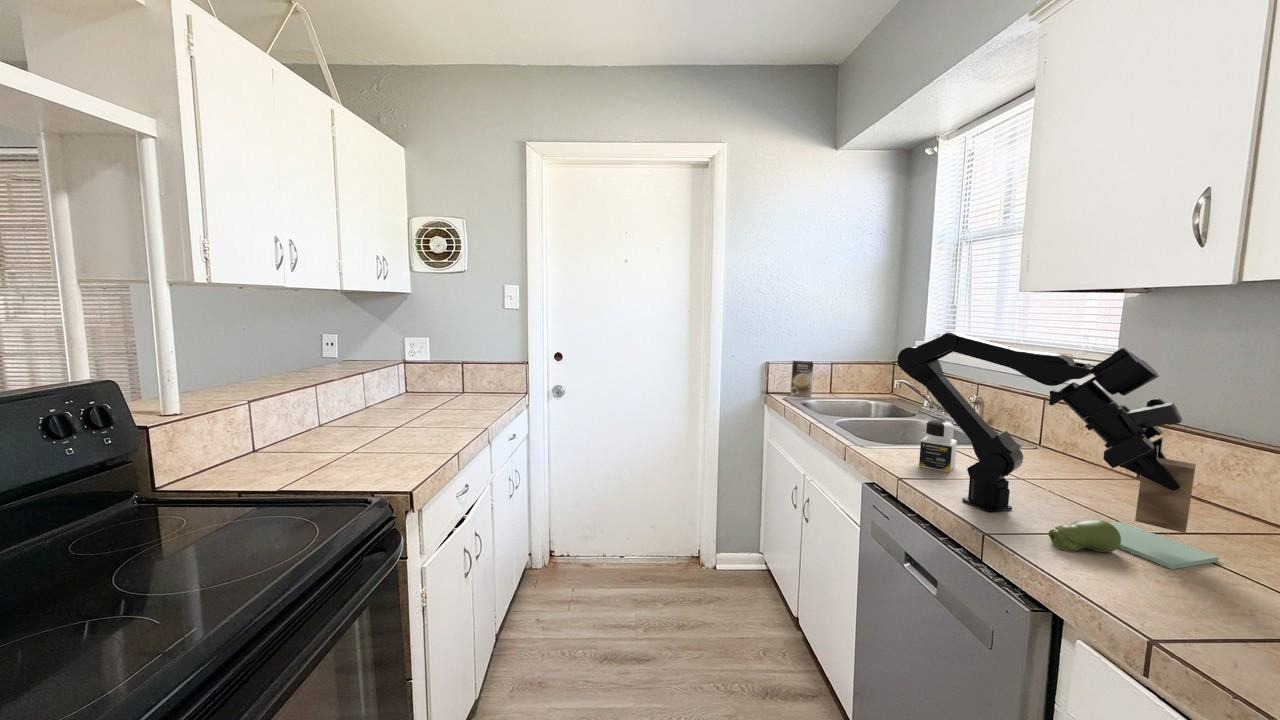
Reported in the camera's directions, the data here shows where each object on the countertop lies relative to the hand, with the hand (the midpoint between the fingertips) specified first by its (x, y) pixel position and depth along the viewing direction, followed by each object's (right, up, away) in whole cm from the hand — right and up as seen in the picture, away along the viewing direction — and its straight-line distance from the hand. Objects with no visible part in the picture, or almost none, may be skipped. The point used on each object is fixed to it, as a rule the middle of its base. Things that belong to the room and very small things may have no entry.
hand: (1177, 486), depth 85 cm
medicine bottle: (-13, -7, +48) cm, 50 cm away
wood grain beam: (-1, -7, +2) cm, 7 cm away
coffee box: (-16, +4, +149) cm, 150 cm away
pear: (-13, -12, +3) cm, 18 cm away
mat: (-1, -12, +4) cm, 12 cm away
